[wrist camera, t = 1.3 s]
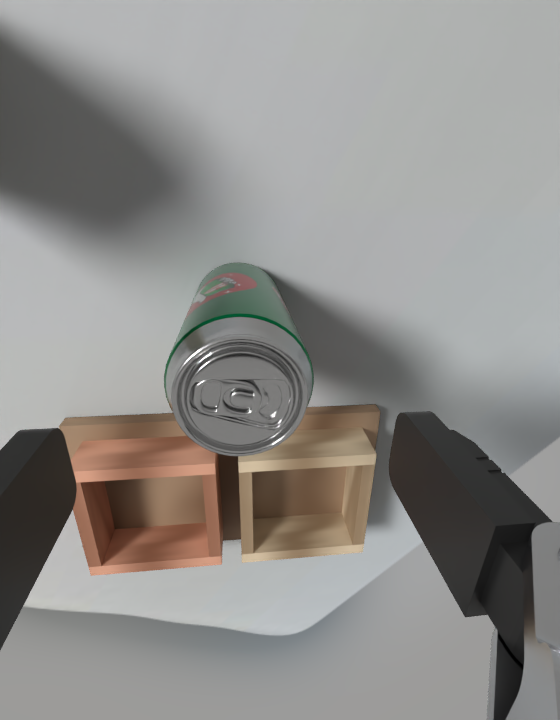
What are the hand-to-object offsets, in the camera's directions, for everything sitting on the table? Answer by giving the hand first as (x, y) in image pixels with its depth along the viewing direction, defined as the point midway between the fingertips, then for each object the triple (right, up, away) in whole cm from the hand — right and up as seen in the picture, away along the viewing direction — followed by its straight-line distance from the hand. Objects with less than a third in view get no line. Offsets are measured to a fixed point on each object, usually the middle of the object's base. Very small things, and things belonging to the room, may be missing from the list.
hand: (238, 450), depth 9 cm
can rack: (-3, -6, +18) cm, 20 cm away
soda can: (-1, +6, +14) cm, 15 cm away
